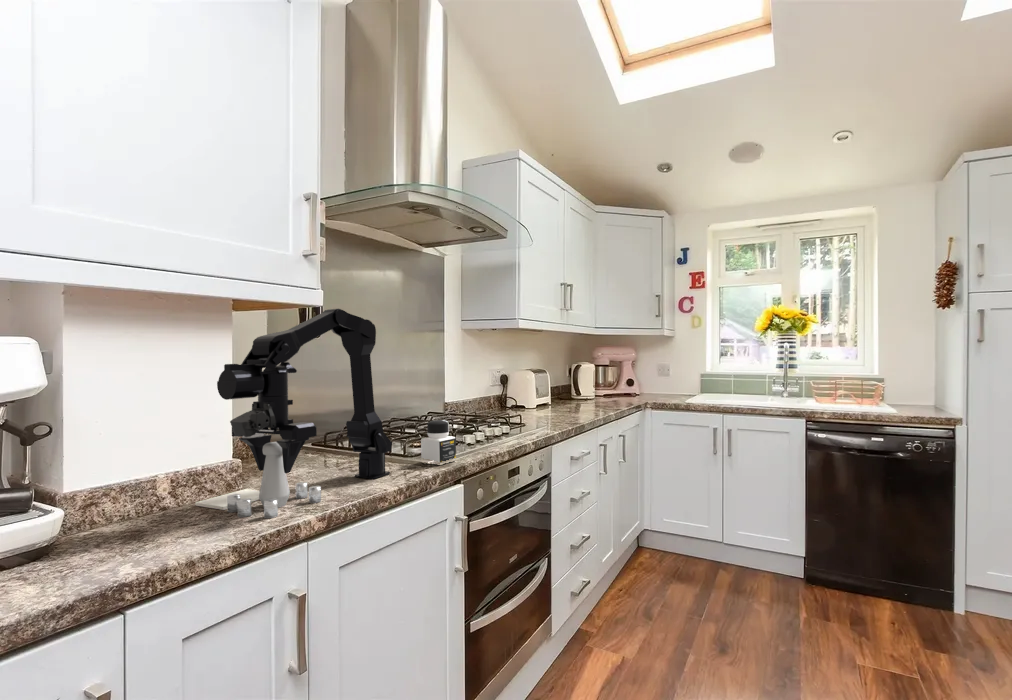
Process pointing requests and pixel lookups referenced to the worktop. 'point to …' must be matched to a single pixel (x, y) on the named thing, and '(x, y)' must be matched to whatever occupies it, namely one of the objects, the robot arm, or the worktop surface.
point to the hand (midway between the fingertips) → (274, 471)
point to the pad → (221, 500)
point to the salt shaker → (274, 476)
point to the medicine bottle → (438, 442)
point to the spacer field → (271, 501)
